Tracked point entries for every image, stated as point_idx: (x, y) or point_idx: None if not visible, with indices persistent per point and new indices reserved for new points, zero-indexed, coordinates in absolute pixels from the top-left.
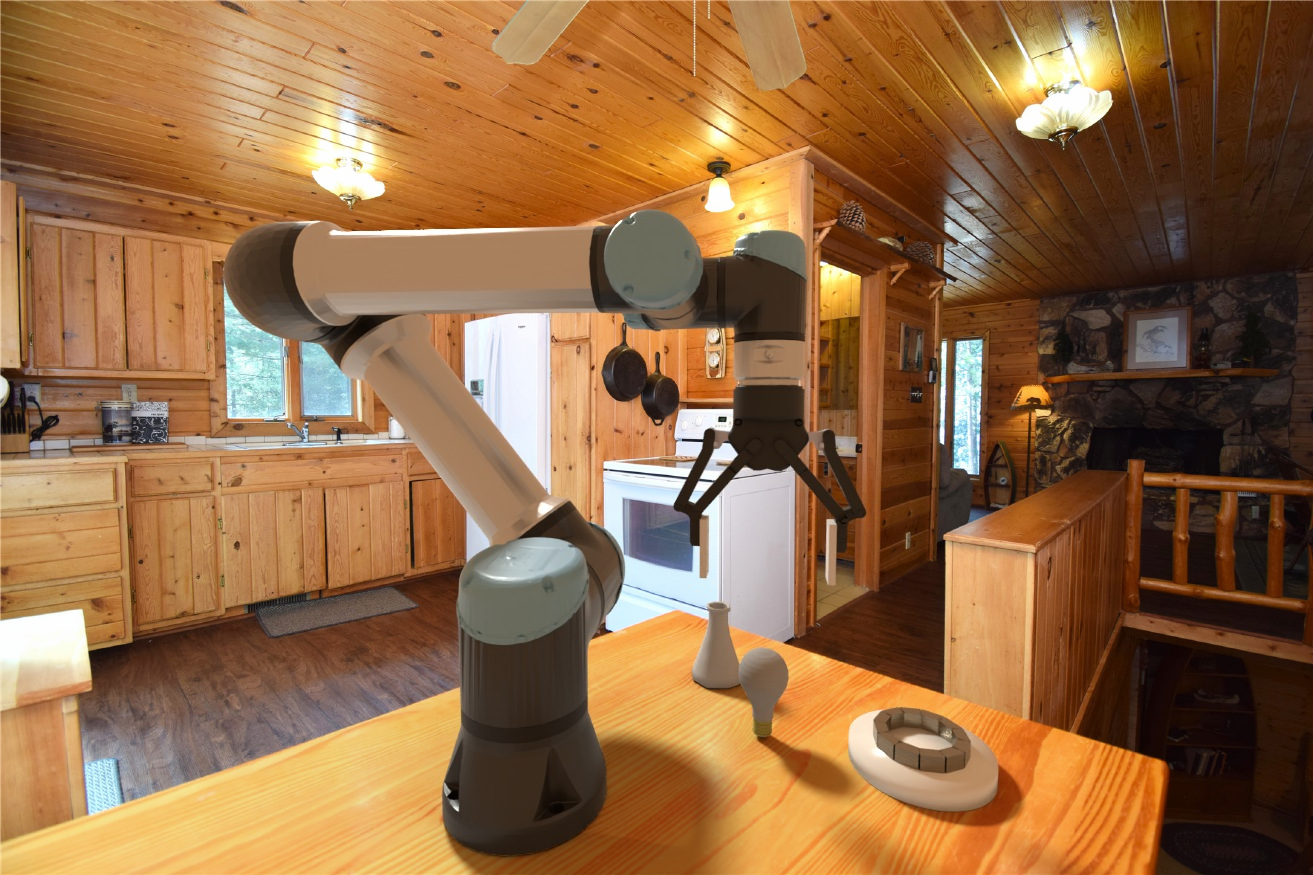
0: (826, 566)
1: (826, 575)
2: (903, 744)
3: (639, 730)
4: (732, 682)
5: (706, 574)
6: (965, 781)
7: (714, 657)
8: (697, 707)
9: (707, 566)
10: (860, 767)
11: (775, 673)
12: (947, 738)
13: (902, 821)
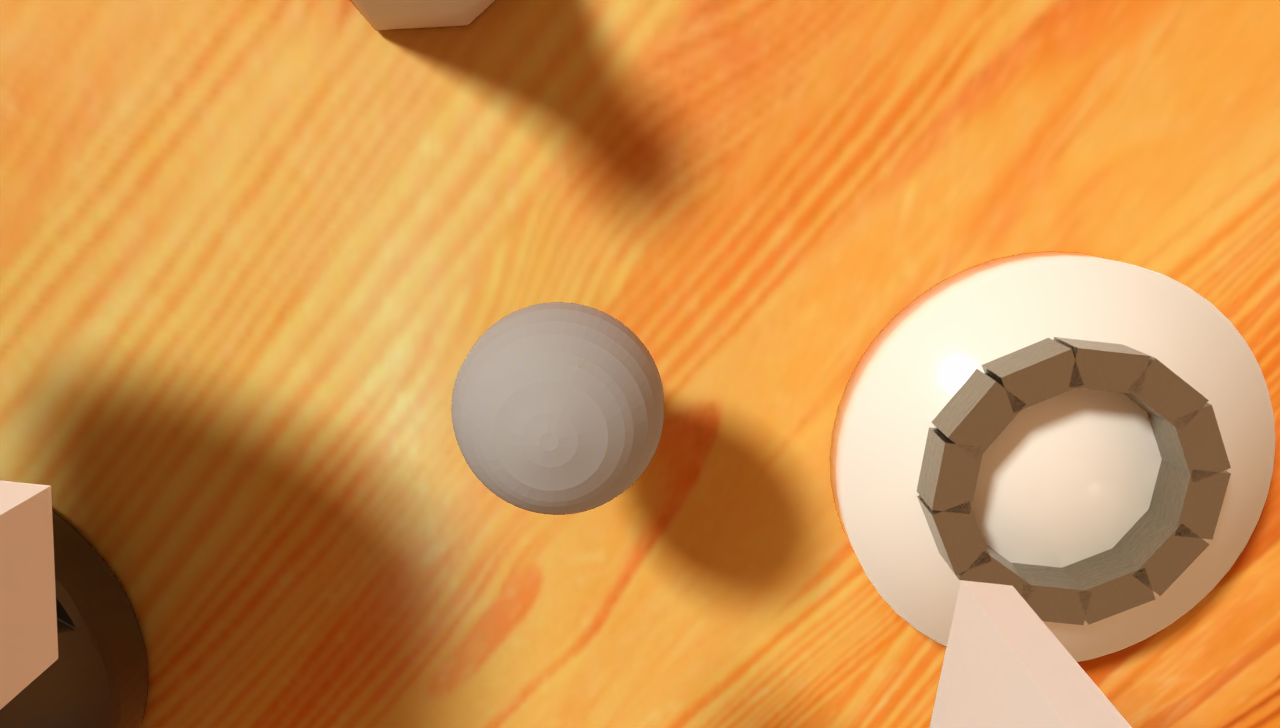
0: (986, 689)
1: (959, 661)
2: (988, 569)
3: (166, 342)
4: (480, 2)
5: (41, 662)
6: (1100, 629)
7: None
8: (350, 177)
9: (10, 615)
10: (842, 523)
11: (597, 506)
12: (1162, 449)
13: (883, 673)
